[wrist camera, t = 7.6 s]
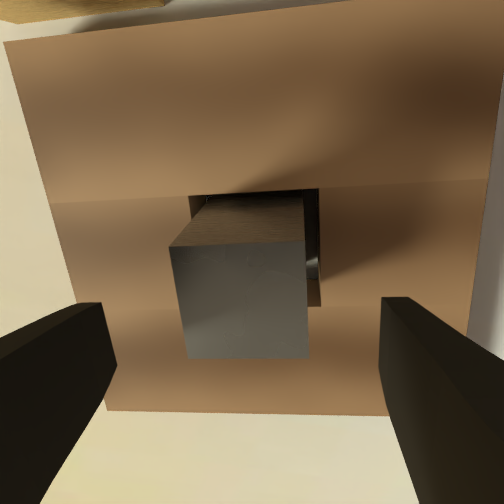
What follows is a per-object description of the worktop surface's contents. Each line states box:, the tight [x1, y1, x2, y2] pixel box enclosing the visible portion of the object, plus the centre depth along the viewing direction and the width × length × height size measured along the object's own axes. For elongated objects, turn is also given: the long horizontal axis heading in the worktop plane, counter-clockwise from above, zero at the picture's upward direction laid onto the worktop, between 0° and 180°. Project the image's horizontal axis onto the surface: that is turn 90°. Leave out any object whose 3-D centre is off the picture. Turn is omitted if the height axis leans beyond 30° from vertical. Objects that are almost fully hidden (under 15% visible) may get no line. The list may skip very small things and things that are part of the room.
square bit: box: [168, 189, 309, 359], centre depth 14 cm, size 4×4×7 cm
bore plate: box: [3, 0, 504, 416], centre depth 16 cm, size 16×16×2 cm
